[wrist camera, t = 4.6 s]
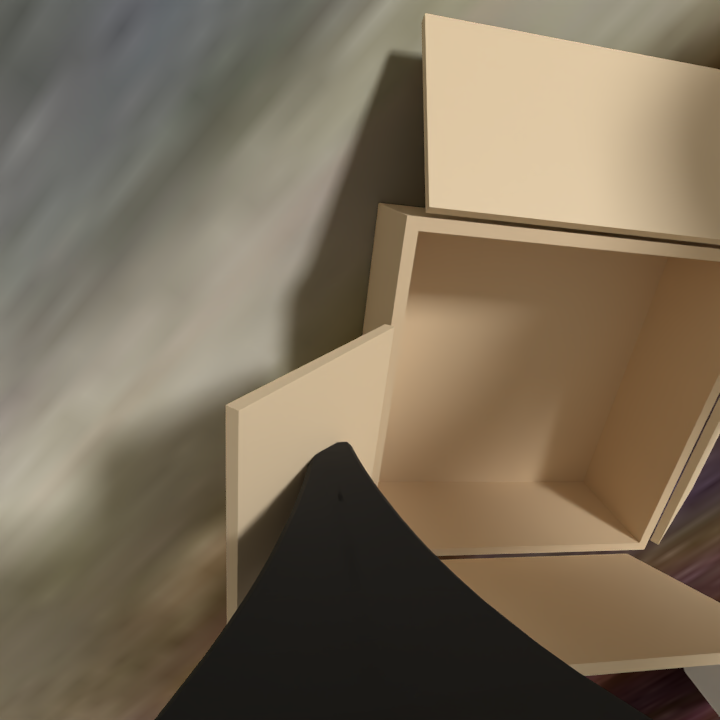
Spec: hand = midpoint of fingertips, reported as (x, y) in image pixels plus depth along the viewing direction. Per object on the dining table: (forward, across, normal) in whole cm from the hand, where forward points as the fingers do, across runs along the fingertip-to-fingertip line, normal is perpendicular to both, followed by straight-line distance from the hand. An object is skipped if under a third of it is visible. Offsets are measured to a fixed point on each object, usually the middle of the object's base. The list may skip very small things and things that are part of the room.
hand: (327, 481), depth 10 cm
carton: (+6, -6, 0) cm, 9 cm away
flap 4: (+2, -11, +1) cm, 12 cm away
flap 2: (+2, -7, -5) cm, 9 cm away
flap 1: (+2, -1, 0) cm, 2 cm away
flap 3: (+2, -6, +5) cm, 8 cm away
